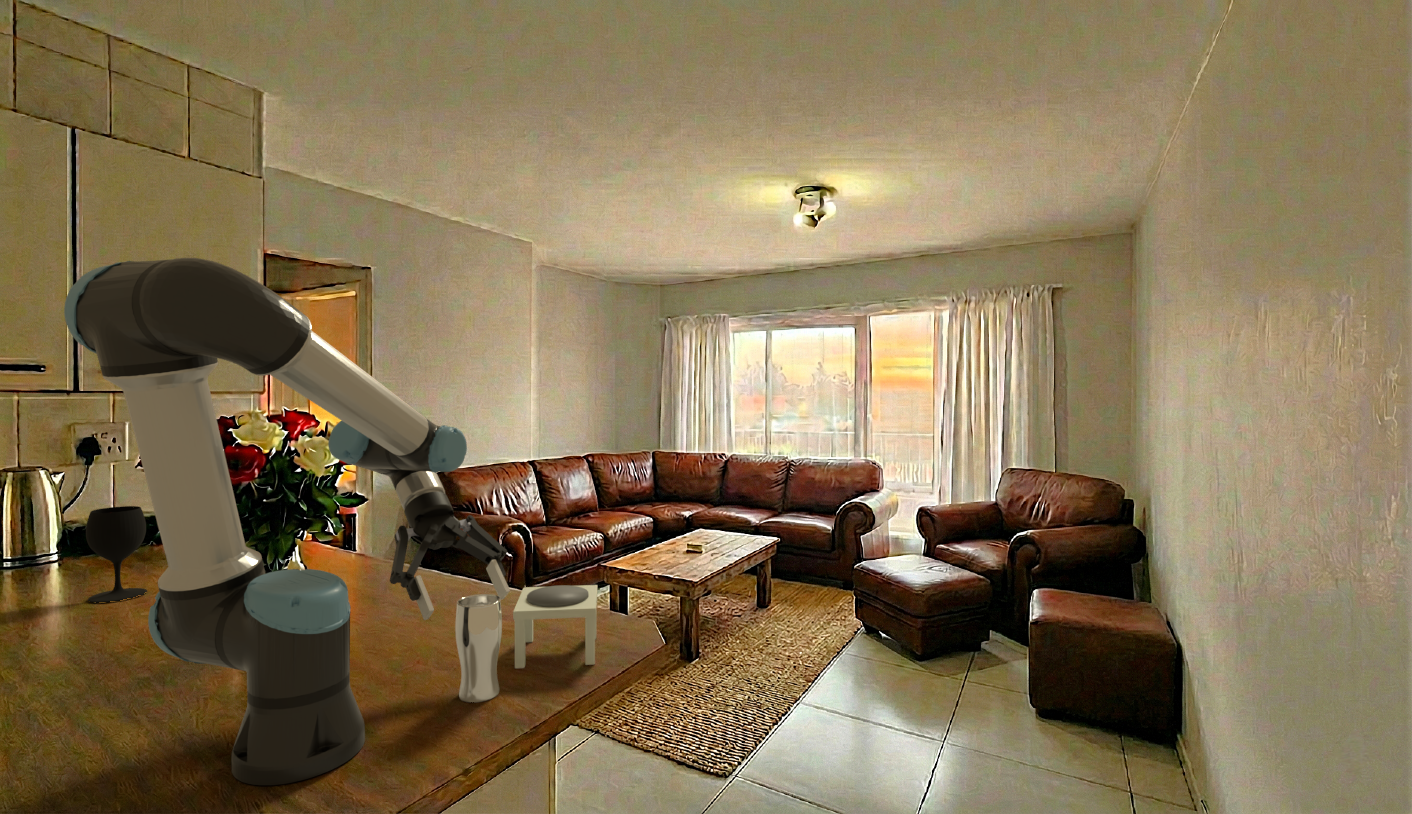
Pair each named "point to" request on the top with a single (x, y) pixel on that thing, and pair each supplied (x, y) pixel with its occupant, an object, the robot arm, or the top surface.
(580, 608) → the stool
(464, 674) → the beer glass
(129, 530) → the wine glass
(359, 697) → the top surface
